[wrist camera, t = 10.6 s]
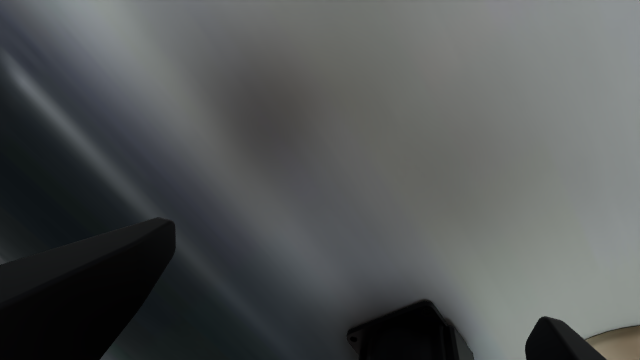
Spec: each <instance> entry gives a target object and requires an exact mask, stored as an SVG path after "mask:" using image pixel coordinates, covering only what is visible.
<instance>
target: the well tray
mask: <svg viewBox="0 0 640 360" xmlns="http://www.w3.org/2000/svg"><path fill="white" fill-rule="evenodd" d="M585 341H586V342H588V343H589V344H590V345H591V346H592V347H593V348H594V349H596V350H597V351H598V352H599V353H600V354H601V355H602V356H604V357H605V358H606V359H607V360H640V326H634V327H628V328H622V329H618V330H614V331H609V332H606V333H603V334H600V335H597V336H594V337H591V338H589V339H587V340H585Z"/></svg>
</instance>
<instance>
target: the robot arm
mask: <svg viewBox="0 0 640 360" xmlns="http://www.w3.org/2000/svg"><path fill="white" fill-rule="evenodd" d="M175 249H176V235H175V223H174V222H173V221H172V220H168V219H164V218H160V217H157V218H154V219H150V220H147V221H144V222H140V223H137V224H134V225H131V226H127V227H124V228H121V229H117V230H114V231H111V232H107V233H104V234H101V235H97V236H94V237H91V238H87V239H84V240H81V241H78V242H74V243H71V244H68V245H64V246H61V247H58V248H54V249H51V250H48V251H44V252H41V253H38V254H35V255H31V256H28V257H25V258H21V259H18V260H15V261H11V262H8V263H5V264H1V265H0V360H100V359H101V357H102V356H103V355H104V353H105V352H106V351H107V350H108V348H109V347H110V346H111V345H112V343H113V342H114V341H115V339H116V338H117V337H118V336H119V334H120V333H121V332H122V331H123V329H124V328H125V327H126V325H127V324H128V323H129V322H130V320H131V319H132V318H133V317H134V315H135V314H136V313H137V311H138V310H139V309H140V307H141V306H142V304H143V303H144V301H145V300H146V298H147V297H148V295H149V294H150V292H151V291H152V289H153V287H154V286H155V284H156V283H157V281H158V279H159V278H160V276H161V275H162V273H163V271H164V270H165V268H166V267H167V265H168V264H169V262H170V260H171V259H172V257H173V255H174V253H175ZM424 309H429V310H427V311H426V310H424ZM352 336H354V337H352ZM347 341H348V342H349V344H350V345H351V346H352V347H353V348H354V350H355V351H356V352H357V353H358V355H359V360H474V356H473V353H472V351H471V350H470V348H469V347H468V346H467V344H466V343H465V341H464V340H463V339H462V337H461V336H460V334H459V333H458V332H457V330H456V329H455V328H454V327H453V326H451V325H449V326H448V324H447V323H446V322H445V320H444V319H443V317H442V316H441V315H440V313H439V312H438V310H437V309H436V308H435V306H434V305H433V304H432V303H431V302H428V301H423V302H420V303H418V304H415V305H412V306H410V307H407V308H405V309H402V310H400V311H397V312H394V313H392V314H389V315H387V316H384V317H381V318H379V319H376V320H374V321H371V322H369V323H366V324H363V325H361V326H358V327H356V328H353V329H351V330H349V331H348V332H347ZM525 353H526V360H607V359H606V358H605V357H604V356H602V355H601V354H600V353H599V352H598V351H597V350H596V349H594V348H593V347H592V346H591V345H590V344H589V343H588V342H586V341H585V340H584V339H583V338H582V337H581V336H580V335H578V334H577V333H576V332H575V331H574V330H573V329H572V328H570V327H569V326H568V325H567V324H566V323H565V322H563V321H561V320H558V319H554V318H550V317H546V316H544V317H541V318H540V319H539V320H538V322H537V323H536V325H535V327H534V329H533V330H532V332H531V334H530V336H529V337H528V339H527V341H526V345H525Z"/></svg>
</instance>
